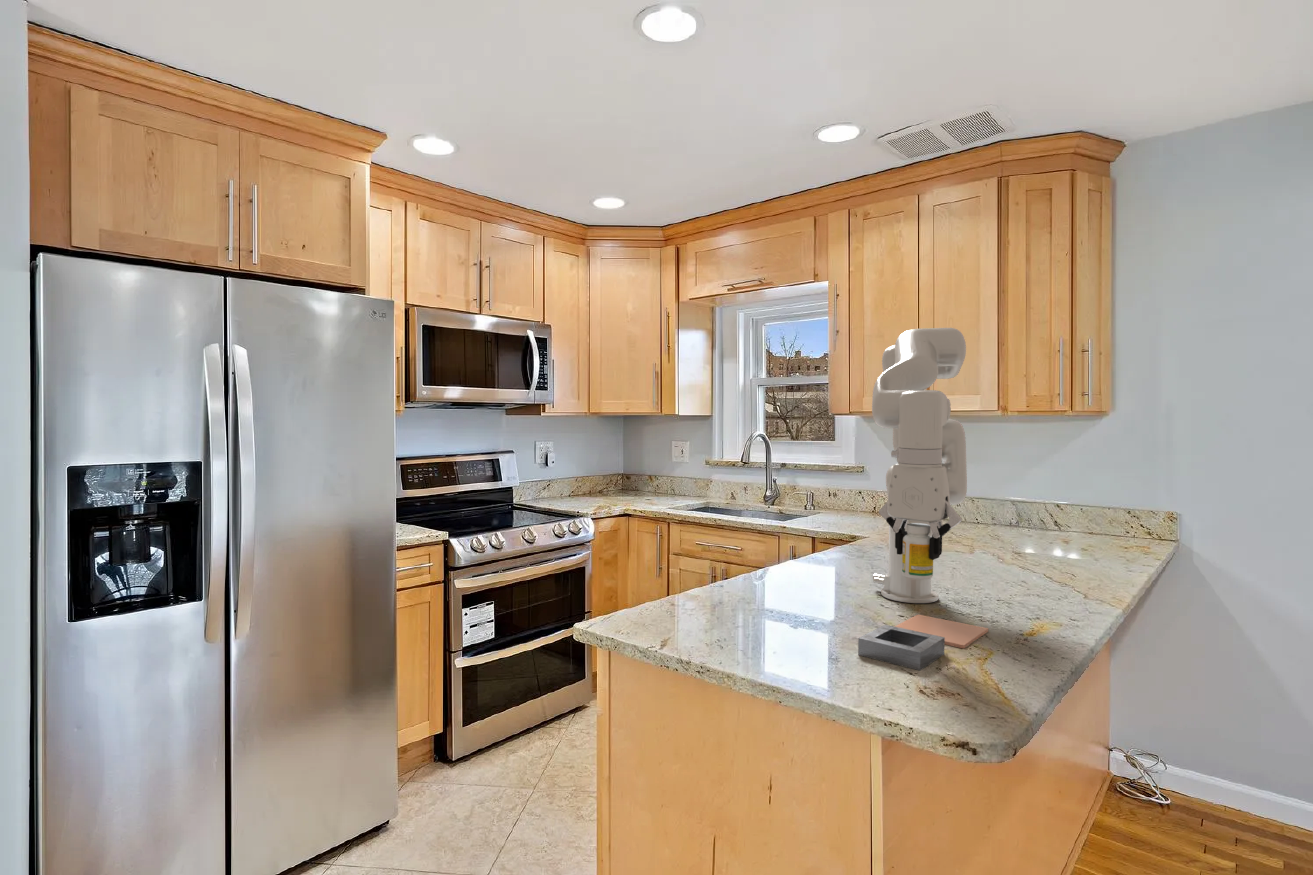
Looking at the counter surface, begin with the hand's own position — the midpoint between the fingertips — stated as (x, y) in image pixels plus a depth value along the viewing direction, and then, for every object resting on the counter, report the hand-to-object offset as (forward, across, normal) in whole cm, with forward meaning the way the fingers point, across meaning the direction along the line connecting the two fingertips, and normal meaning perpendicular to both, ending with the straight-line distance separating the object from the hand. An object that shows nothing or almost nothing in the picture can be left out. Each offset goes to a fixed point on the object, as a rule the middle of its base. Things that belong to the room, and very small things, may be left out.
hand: (917, 554), depth 127 cm
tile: (+17, 0, +10) cm, 20 cm away
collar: (+16, 0, -8) cm, 18 cm away
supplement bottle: (+4, 0, 0) cm, 4 cm away
